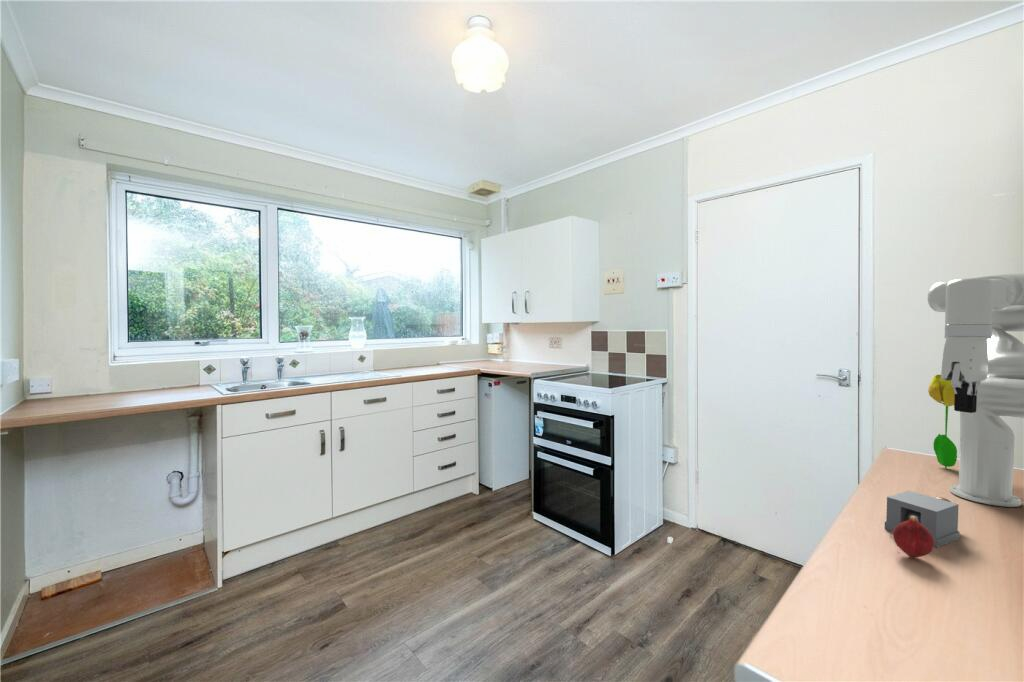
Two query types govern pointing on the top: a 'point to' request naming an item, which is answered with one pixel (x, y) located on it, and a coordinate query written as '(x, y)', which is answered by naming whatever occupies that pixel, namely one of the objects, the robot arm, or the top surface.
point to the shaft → (918, 514)
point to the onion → (913, 538)
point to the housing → (925, 515)
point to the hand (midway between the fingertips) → (965, 411)
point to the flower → (942, 443)
